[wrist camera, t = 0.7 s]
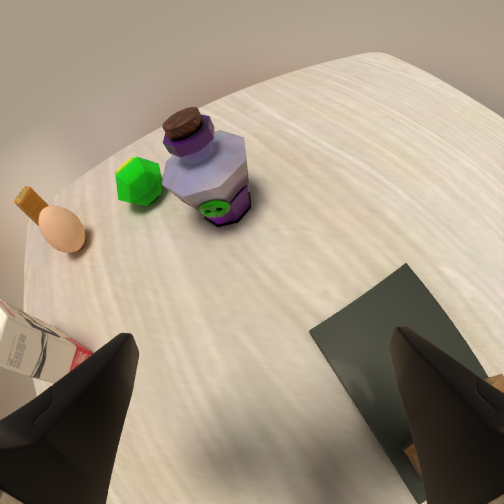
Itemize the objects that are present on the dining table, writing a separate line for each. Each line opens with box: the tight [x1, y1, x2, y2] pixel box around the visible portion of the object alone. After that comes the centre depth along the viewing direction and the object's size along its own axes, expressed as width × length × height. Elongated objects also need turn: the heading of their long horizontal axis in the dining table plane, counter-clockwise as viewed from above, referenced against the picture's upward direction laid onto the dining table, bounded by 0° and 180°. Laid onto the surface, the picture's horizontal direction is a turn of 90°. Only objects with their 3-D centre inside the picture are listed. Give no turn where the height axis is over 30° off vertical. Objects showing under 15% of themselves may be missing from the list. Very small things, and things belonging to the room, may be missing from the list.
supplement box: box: [14, 186, 49, 226], centre depth 34 cm, size 3×3×10 cm
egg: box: [39, 206, 85, 253], centre depth 32 cm, size 5×5×8 cm
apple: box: [116, 157, 161, 206], centre depth 34 cm, size 7×6×9 cm
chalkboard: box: [309, 263, 489, 504], centre depth 17 cm, size 18×10×1 cm, turn 28°
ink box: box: [0, 299, 93, 383], centre depth 22 cm, size 8×5×12 cm, turn 72°
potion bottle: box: [162, 107, 251, 227], centre depth 26 cm, size 9×9×12 cm
